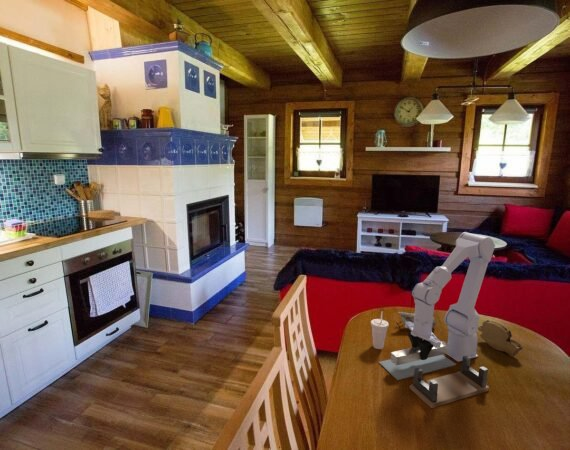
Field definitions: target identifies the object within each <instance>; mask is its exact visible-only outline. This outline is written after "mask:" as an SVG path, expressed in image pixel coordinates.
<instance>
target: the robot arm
mask: <svg viewBox="0 0 570 450" xmlns="http://www.w3.org/2000/svg"><path fill="white" fill-rule="evenodd" d="M495 247H496V245H495V243H494V240H493V238H492V237H490V236H483V235H479V234H475V233H470V232H469V231H468V232H467V231H464V232H462V233H460V235H459V236H458V237H457V239H455V247H454V249H453V250H452V252H451V253H450V254H449V256H448V257H447V258H446V260H445V261H444V262H443V264H442V265H441V266H436V267H434V268H433V270H432V271H431V272H430V273H429V275H427V276H426V278H425V279H424V280H423V281H422V282H418V283H416V284H415V286H414V287H413V290H412V291H411V295H412V297H413V300H414V301H413V302H414V304H415V305H414V313H415V315H414V323H412V322H410V321H409V322H405V325H404V327H405V329H409V330H410V332H408V333H407V337H408V338H409V342H410V345H411V348H413V347H417V346H420V358H421V360H426V359H427V357H428V355H429V353H430V351H431V349H432V348H433V347H435V348H439V347H441V341H442V340H440V339H438V338H437V336H436V335H435V334H434V333H433V332H432V331H433V328H432V323H433V317H434V313H435V312H434V310H435V304H436V303H437V302H439V300H440V297H441V294H442V290H443V289H444V287H446V285H447V284H448V283H449V282H450V281H451V279H452V273H453V271H454V270H456V269H457V268H458V267H459V266H460V265H461V264H462V263H463V262H464V261H465V260H466V259H469V261H470V262H469V265H468V268H467V272H466V275H465V278H464V281H463V283H462V287H461V291H460V294H459V298H458V301H457V302H456V303H453V304H450V305H449V309H448V310H447V311H446V313H445V315H444V323H445V325H447V329H448V334H447V335H448V336H447V342H446V343H447V344H449V345H450V348H449V353H447V354H446V355H447V356H449V357H450V358H452V359H453V360H455V361H456V362H462V359H463V356H468V357H470V358H471V359H474V358H478V357H479V355H478V354H477V351H478V350H477V348H478V339H479V338H478V335H477V332H478V331H479V330H478V327H480V326H479V321H480V318H481V317H480V314H479V313H478V312H477V310H476V309H475V306H476V302H477V299H478V297H479V296H478V295H479V293H480V290H481V288H482V287H481V286H482V285H483V284H482V283H483V280H484V277H485V275H486V272H487V268H488V265H489V263H490V262H491V260H492V257H493V253H494V251H495Z"/></svg>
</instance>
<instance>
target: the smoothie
mask: <svg viewBox="0 0 570 450" xmlns="http://www.w3.org/2000/svg"><path fill="white" fill-rule="evenodd" d="M383 312H384V311H381V313H380V318H374V319H372V320H370V326H371V332H372V333H371V336H372V347H373V349H377V350H383V349H384V345H385V341H386V338H387V337H386V336H387V331H388V328H389V325H390V324H389V322H388V321H387V320H385V319H383V317H384V316H383V315H384V314H383Z"/></svg>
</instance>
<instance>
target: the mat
mask: <svg viewBox="0 0 570 450" xmlns="http://www.w3.org/2000/svg"><path fill="white" fill-rule="evenodd" d="M390 359H391V358H389V359H385V360H382V361H379V362H378V364H380V365H381V366H382V368H384V370H386V371H387V372H388V373H389V374H390V375H391V376H392V377H393V378H395V379H396V380H397V381H400V380H404V379H407V378H412V377H414V371H415V368H420V369H421V370H423V373H422V375H423V374H426V373H430V372H434V371H440V370H443V369H446V368H450V367H455V366H456V365H457V363H455V362H454V361H452V360H450V359H449V358H448V357H446V356H445V355H444V354H443V355H439V356H434V357H430V358H427V359H426V360H418V361H413V362H409V363H405V364H401V365H397V366H396V365H395V364H394V363H393V362H391V361H390Z"/></svg>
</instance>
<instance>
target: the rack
mask: <svg viewBox="0 0 570 450" xmlns="http://www.w3.org/2000/svg"><path fill="white" fill-rule="evenodd" d="M471 359H472V358H470V357H468V356H463V359H462V361H461V366H460V371H456V372H453V373H449V374H445V375H441V376H439V377H434V378H431V379H430V378H429V379H427V380H423V374H422V373H423V370H421V369H420V368H415V371H414V376H413V381H412V384H409V389H410V390H411V391H412V392H413V393H414V394H416V396H417V397H418V398H419V399H421V400H422V402H424V403H425V404H426V405H427V406H429V408H430V409H432V408H433V409H434V408H436V407H440V406H443V405H447V404H449V403H453V402H456V401H459V400H462V399H466V398H469V397H473V396H476V395H479V394H482V393H486V392H489V390H490V386H489V385H487V380H488V371H489V369H488V368H487V367H485V366H480V367H479V369H478V371H477V370H475V369H474V368H473V367H471Z"/></svg>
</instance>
